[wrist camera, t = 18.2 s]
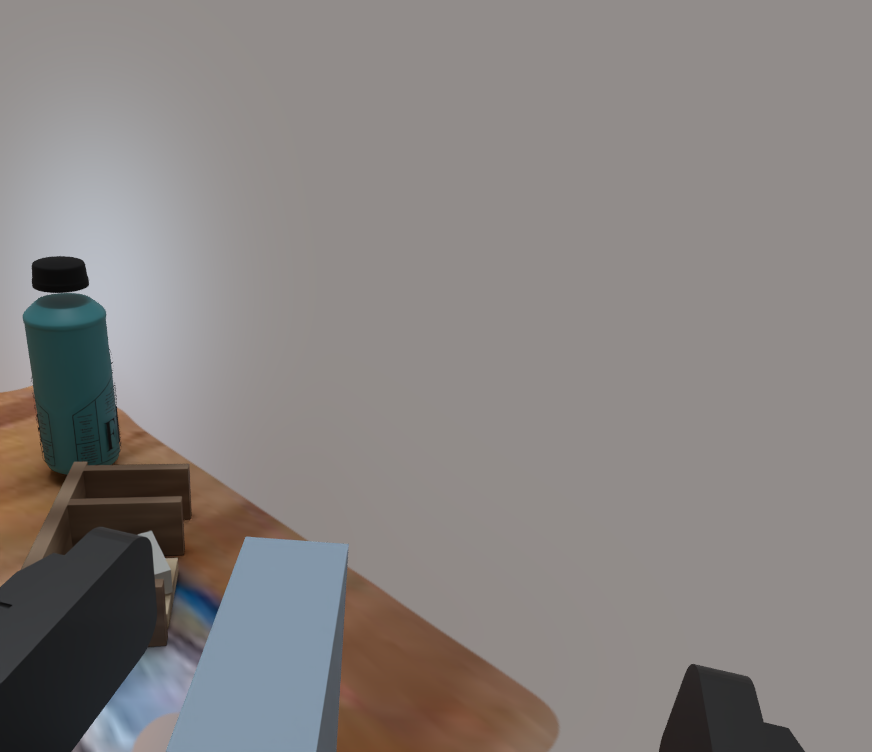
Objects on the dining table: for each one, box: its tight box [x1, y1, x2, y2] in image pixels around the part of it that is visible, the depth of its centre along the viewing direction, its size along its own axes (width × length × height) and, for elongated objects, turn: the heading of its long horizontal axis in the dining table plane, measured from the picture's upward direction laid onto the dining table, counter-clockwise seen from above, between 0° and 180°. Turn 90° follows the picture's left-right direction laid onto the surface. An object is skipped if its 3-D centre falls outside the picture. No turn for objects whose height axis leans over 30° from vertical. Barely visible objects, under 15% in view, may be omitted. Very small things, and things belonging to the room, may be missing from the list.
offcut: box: [138, 531, 173, 594], centre depth 51 cm, size 5×6×2 cm
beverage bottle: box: [23, 256, 122, 474], centre depth 62 cm, size 6×7×20 cm
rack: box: [21, 462, 192, 647], centre depth 53 cm, size 16×9×5 cm, turn 11°
